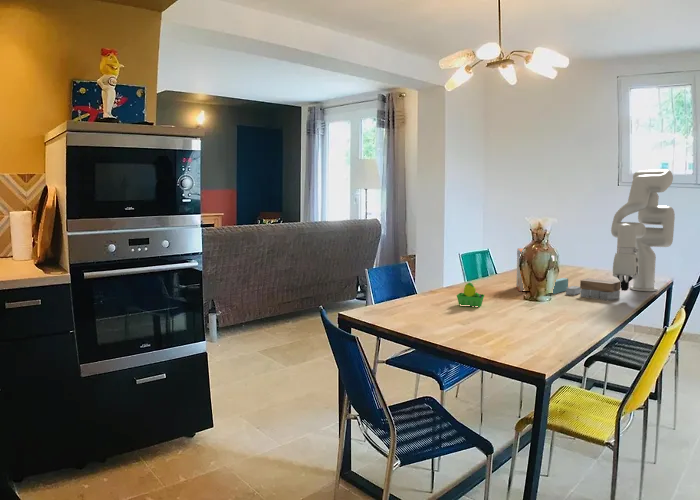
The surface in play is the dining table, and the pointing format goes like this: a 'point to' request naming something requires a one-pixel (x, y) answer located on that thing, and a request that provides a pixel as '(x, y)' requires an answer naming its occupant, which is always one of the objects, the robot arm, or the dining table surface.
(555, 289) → the block
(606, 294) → the bar
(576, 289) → the bar
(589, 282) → the board
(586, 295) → the bar
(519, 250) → the cracker box
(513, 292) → the dining table surface
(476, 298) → the fruit basket
